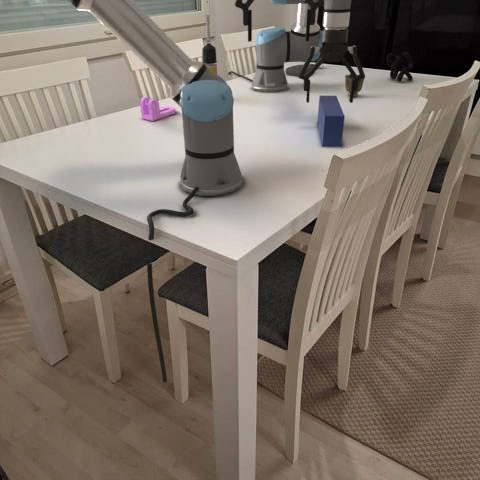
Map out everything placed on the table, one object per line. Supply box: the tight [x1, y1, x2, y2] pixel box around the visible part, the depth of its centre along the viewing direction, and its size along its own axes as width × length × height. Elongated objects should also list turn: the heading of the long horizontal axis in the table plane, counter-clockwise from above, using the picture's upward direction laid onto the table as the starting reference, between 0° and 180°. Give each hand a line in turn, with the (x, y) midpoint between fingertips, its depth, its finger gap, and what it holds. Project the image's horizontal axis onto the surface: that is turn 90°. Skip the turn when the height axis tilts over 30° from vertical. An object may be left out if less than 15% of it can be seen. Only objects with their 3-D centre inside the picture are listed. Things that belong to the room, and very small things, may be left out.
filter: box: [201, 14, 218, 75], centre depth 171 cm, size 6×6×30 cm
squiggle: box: [385, 51, 414, 83], centre depth 198 cm, size 11×10×15 cm
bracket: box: [139, 96, 176, 122], centre depth 158 cm, size 13×6×7 cm, turn 143°
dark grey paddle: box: [284, 62, 327, 77], centre depth 219 cm, size 3×11×24 cm
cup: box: [344, 73, 365, 98], centre depth 176 cm, size 8×7×8 cm
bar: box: [316, 95, 345, 148], centre depth 138 cm, size 23×6×9 cm, turn 175°
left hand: (278, 40), depth 106 cm, fingers open, 13 cm apart
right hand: (329, 101), depth 142 cm, fingers open, 13 cm apart
